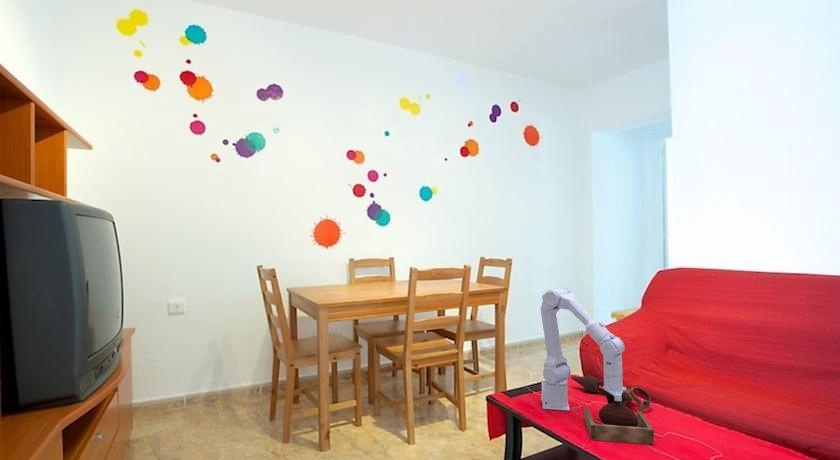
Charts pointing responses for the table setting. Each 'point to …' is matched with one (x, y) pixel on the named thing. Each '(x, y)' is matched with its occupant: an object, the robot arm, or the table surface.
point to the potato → (618, 415)
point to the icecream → (590, 383)
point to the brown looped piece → (636, 398)
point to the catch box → (621, 430)
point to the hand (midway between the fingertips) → (613, 414)
